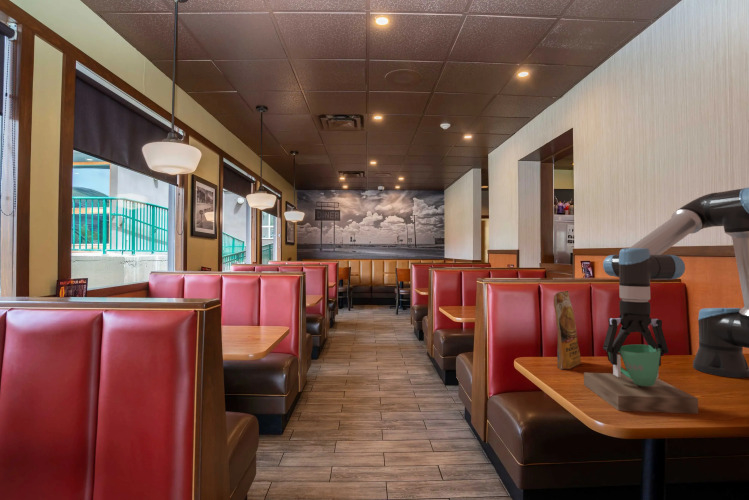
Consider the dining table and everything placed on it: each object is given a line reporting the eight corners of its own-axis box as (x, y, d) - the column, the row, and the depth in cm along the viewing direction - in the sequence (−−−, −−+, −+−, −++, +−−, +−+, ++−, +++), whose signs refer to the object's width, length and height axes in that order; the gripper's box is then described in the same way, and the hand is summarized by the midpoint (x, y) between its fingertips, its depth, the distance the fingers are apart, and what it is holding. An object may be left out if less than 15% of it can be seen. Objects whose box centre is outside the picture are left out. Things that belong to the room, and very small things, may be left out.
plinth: (649, 387, 119) (649, 374, 119) (698, 413, 99) (698, 398, 99) (584, 385, 120) (583, 372, 121) (618, 410, 101) (618, 395, 101)
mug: (672, 383, 105) (667, 347, 106) (652, 391, 101) (647, 354, 101) (619, 372, 118) (615, 340, 119) (600, 379, 114) (595, 346, 115)
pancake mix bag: (547, 367, 139) (547, 292, 140) (567, 358, 152) (567, 289, 152) (566, 372, 134) (565, 294, 135) (585, 362, 147) (585, 290, 147)
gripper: (666, 299, 113) (667, 373, 112) (589, 298, 115) (589, 371, 114) (684, 302, 105) (685, 381, 105) (601, 301, 107) (602, 379, 107)
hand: (635, 376), depth 110 cm, fingers closed on mug, 9 cm apart
